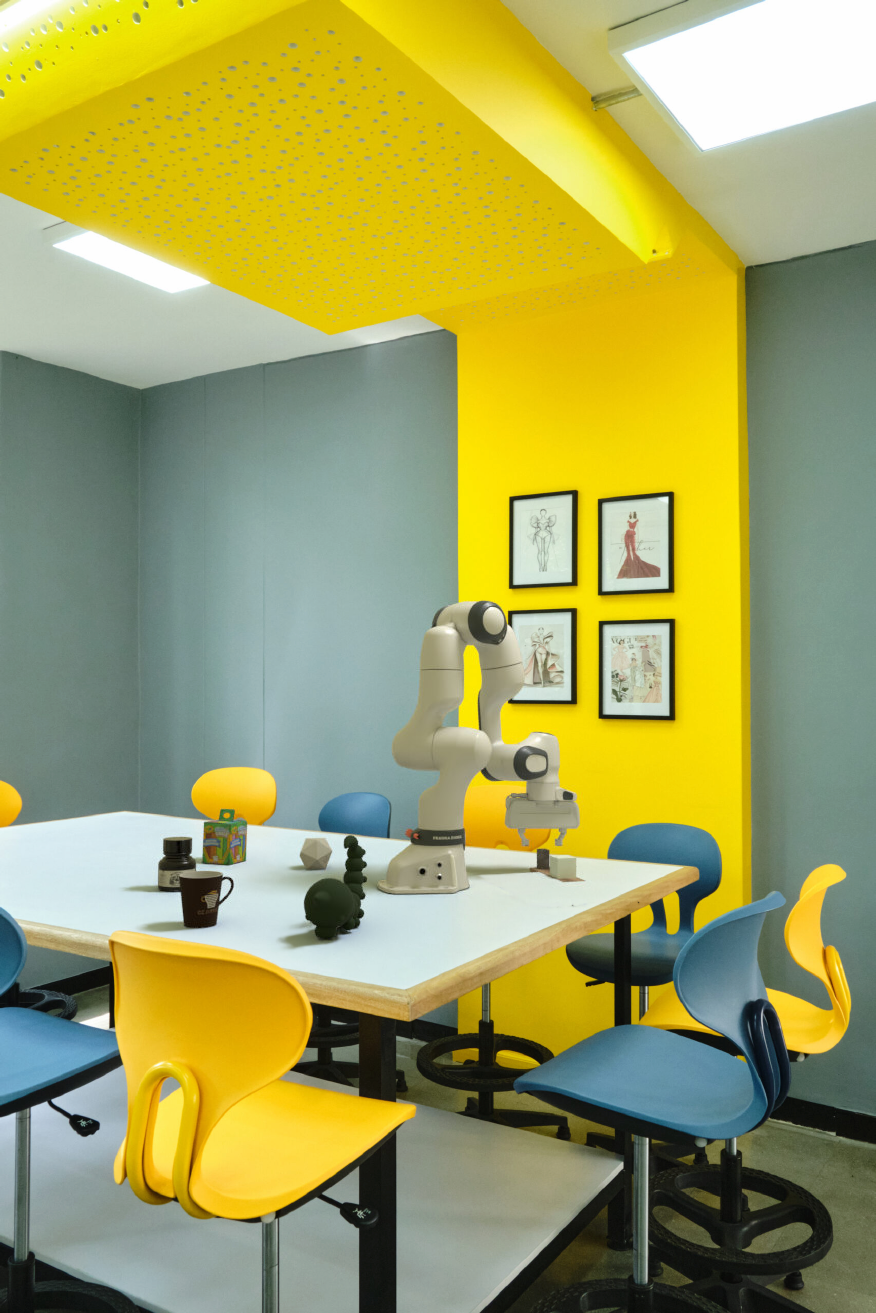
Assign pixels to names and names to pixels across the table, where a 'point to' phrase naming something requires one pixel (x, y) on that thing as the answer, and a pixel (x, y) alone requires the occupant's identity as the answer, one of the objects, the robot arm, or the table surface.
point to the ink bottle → (175, 862)
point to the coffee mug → (201, 897)
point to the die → (315, 853)
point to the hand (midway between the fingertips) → (542, 845)
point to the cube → (562, 866)
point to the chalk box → (224, 840)
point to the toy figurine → (338, 896)
